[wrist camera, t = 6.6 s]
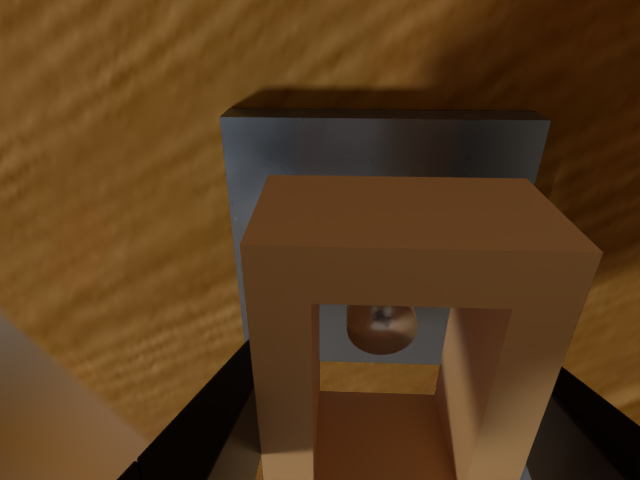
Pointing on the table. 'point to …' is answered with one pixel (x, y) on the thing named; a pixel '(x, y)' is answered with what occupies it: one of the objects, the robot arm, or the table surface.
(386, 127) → the plate
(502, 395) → the link
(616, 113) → the table surface
